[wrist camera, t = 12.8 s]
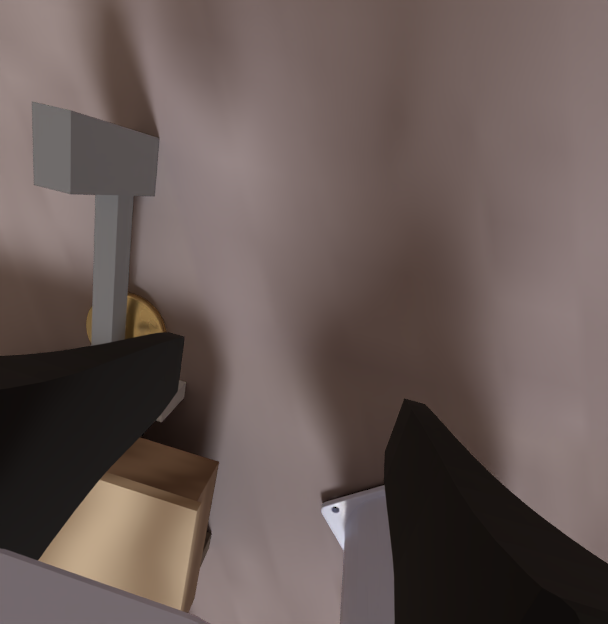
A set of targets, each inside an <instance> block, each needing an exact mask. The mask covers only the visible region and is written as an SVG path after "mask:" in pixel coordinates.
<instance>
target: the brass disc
mask: <svg viewBox="0 0 608 624" xmlns="http://www.w3.org/2000/svg"><path fill="white" fill-rule="evenodd" d="M86 329H87V334H88V338H89V341H90V343H91V338H92V307H91V308H90V310H89V313H88V316H87V321H86ZM160 332H166V327H165V324H164V321H163V319H162V317H161V315H160V314H159V312H158V311H157V310H156V308H155V307H154V306H153V305H152V304H151V303H149V302H148V301H147V300H145V299H144V298H142V297H140V296H138V295H136V294H132V293H128V295H127V311H126V328H125V339H128V338H133V337H138V336H143V335H148V334H154V333H160Z"/></svg>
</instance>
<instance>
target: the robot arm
mask: <svg viewBox="0 0 608 624" xmlns="http://www.w3.org/2000/svg"><path fill="white" fill-rule="evenodd" d="M183 345H184V337H183V336H180V335H176V334H173V333H169V332H160V333H154V334H148V335H143V336H138V337H133V338H128V339H124V340H119V341H114V342H109V343H104V344H98V345H93V346H87V347H82V348H76V349H70V350H63V351H56V352H47V353H37V354H27V355H12V356H0V624H210V623H208V622H206V621H204V620H203V619H201V618H199V617H197V616H195V615H192V614H189V613H186V612H184V611H181V610H178V609H175V608H172V607H169V606H166V605H164V604H161V603H158V602H155V601H152V600H149V599H146V598H144V597H141V596H138V595H135V594H132V593H129V592H126V591H123V590H121V589H118V588H115V587H112V586H109V585H106V584H103V583H101V582H98V581H95V580H92V579H89V578H86V577H83V576H80V575H78V574H75V573H72V572H69V571H66V570H63V569H60V568H58V567H55V566H52V565H49V564H46V563H43V562H40V561H38V560H39V559H40V557H41V556H42V554H43V553H44V552H45V550H46V549H47V547H48V546H49V545H50V543H51V542H52V541H53V539H54V538H55V537H56V535H57V534H58V533H59V531H60V530H61V529H62V527H63V526H64V525H65V523H66V522H67V521H68V519H69V518H70V517H71V515H72V514H73V513H74V511H75V510H76V509H77V508H78V506H79V505H80V504H81V502H82V501H83V500H84V499H85V497H86V496H87V495H88V494H89V492H90V491H91V490H92V489H93V487H94V486H95V485H96V484H97V482H98V481H99V480H100V479H101V478H102V476H103V475H104V474H105V473H106V472H107V471H108V470H109V469H110V467H111V466H112V465H113V464H114V463H115V462H116V461H117V460H118V459H119V458H120V457H121V456H122V455H123V454H124V453H125V452H126V451H127V450H128V449H129V448H130V447H131V446H132V445H133V444H134V443H135V442H136V441H137V440H138V438H139V437H140V436H141V435H142V434H143V433H144V432H145V431H146V430H147V429H148V428H149V427H150V426H151V425H152V424H153V423H154V422H155V421H156V420H157V418H158V417H159V416H160V415H161V414H162V413H163V411H164V410H165V409H166V407H167V406H168V405H169V403H170V402H171V400H172V399H173V397H174V396H175V394H176V393H177V392H178V386H179V378H180V369H181V361H182V353H183ZM334 507H338V508H334ZM321 512H322V514H323V516H324V518H325V519H326V521H327V523H328V525H329V526H330V528H331V530H332V532H333V533H334V535H335V537H336V538H337V540H338V542H339V544H340V545H341V547H342V549H343V551H344V558H343V576H342V593H341V611H340V624H608V563H606V562H604V561H603V560H601V559H600V558H598V557H597V556H595V555H594V554H592V553H591V552H589V551H588V550H586V549H585V548H584V547H582V546H581V545H579V544H578V543H576V542H575V541H573V540H572V539H571V538H569V537H568V536H566V535H565V534H564V533H562V532H561V531H560V530H558V529H557V528H556V527H554V526H553V525H552V524H550V523H549V522H548V521H546V520H545V519H544V518H542V517H541V516H540V515H538V514H537V513H536V512H535V511H533V510H532V509H531V508H530V507H528V506H527V505H526V504H525V503H524V502H522V501H521V500H520V499H519V498H518V497H517V496H515V495H514V494H513V493H512V492H511V491H509V490H508V489H507V488H506V487H505V486H504V485H502V484H501V483H500V482H499V481H498V480H497V479H496V478H495V477H494V476H493V475H492V474H491V473H490V472H489V471H488V470H487V469H485V468H484V467H483V466H482V465H481V464H480V463H479V462H478V461H477V460H476V459H475V458H474V457H473V456H472V455H471V454H470V453H469V451H468V450H467V449H466V448H465V447H464V446H463V445H462V444H461V443H460V442H459V441H458V440H457V439H456V438H455V436H454V435H453V434H452V433H451V432H450V431H449V430H448V429H447V428H446V426H445V425H444V424H443V423H442V422H441V421H440V420H439V419H438V418H437V416H436V415H435V414H434V413H433V412H432V411H431V410H430V409H429V408H428V407H427V406H426V405H425V404H422V403H418V402H415V401H411V400H408V399H404V401H403V404H402V407H401V410H400V412H399V415H398V418H397V421H396V423H395V426H394V429H393V431H392V434H391V437H390V440H389V442H388V445H387V448H386V451H385V465H384V485H383V486H379V487H376V488H372V489H369V490H365V491H362V492H358V493H355V494H351V495H348V496H344V497H340V498H337V499H333V500H330V501H326V502H324V503H323V504H322V507H321Z"/></svg>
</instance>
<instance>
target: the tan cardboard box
mask: <svg viewBox="0 0 608 624" xmlns="http://www.w3.org/2000/svg"><path fill="white" fill-rule="evenodd" d="M218 465H219V462H218V461H215V460H211V459H208V458H205V457H202V456H198V455H195V454H192V453H189V452H185V451H182V450H179V449H176V448H172V447H169V446H166V445H163V444H160V443H156V442H153V441H150V440H147V439H143V438H140V437H139V438H138V440H137V441H136V442H135V443H134V444H133V445H132V446H131V447H130V448H129V449H128V450H127V451H126V452H125V453H124V454H123V455H122V456H121V457H120V458H119V459H118V460H117V461H116V462H115V463H114V464H113V465H112V466H111V467H110V469H109V470H108V471H107V472H106V473H105V474H104V475H103V476H102V478H101V479H100V480H99V481H98V482H97V484H96V485H95V486H94V487H93V489H92V490H91V491H90V492H89V494H88V495H87V496H86V497H85V499H84V500H83V501H82V502H81V504H80V505H79V506H78V508H77V509H76V510H75V511H74V513H73V514H72V515H71V517H70V518H69V519H68V521H67V522H66V523H65V525H64V526H63V527H62V529H61V530H60V531H59V533H58V534H57V535H56V537H55V538H54V539H53V541H52V542H51V543H50V545H49V546H48V547H47V549H46V550H45V552H44V553H43V554H42V556H41V557H40V559H39V560H38V561H40V562H43V563H46V564H49V565H52V566H55V567H58V568H60V569H63V570H66V571H69V572H72V573H75V574H78V575H80V576H83V577H86V578H89V579H92V580H95V581H98V582H101V583H103V584H106V585H109V586H112V587H115V588H118V589H121V590H123V591H126V592H129V593H132V594H135V595H138V596H141V597H144V598H146V599H149V600H152V601H155V602H158V603H161V604H164V605H166V606H169V607H172V608H175V609H178V610H181V611H184V612H186V613H188V612H189V610H190V607H191V605H192V603H193V600H194V597H195V592H196V586H197V581H198V575H199V570H200V567H201V564H202V562H203V560H204V558H205V555H206V553H207V551H208V549H209V545H210V539H211V533H208V532H206V531H207V526H208V520H209V515H210V509H211V504H212V498H213V493H214V487H215V481H216V476H217V470H218Z"/></svg>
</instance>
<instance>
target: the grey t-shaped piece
mask: <svg viewBox="0 0 608 624" xmlns="http://www.w3.org/2000/svg"><path fill="white" fill-rule="evenodd" d="M32 130H33V167H34V185H36V186H40V187H44V188H48V189H52V190H56V191H60V192H64V193H68V194H83V195H95V229H94V265H93V302H92V338H91V346H93V345H98V344H104V343H109V342H114V341H119V340H124V339H125V328H126V311H127V295H128V279H129V262H130V246H131V230H132V214H133V197H134V196H155V185H156V172H157V160H158V147H159V138H158V137H155V136H151V135H148V134H145V133H142V132H138V131H135V130H132V129H129V128H126V127H122V126H119V125H116V124H113V123H110V122H106V121H103V120H100V119H97V118H93V117H90V116H87V115H84V114H81V113H77V112H74V111H71V110H67V109H62V108H58V107H54V106H49V105H45V104H41V103H36V102H32ZM185 387H186V382H184V381H180V380H179V386H178V392H177V393H176V394H175V396H174V397H173V399H172V400H171V402H170V403H169V405H168V406H167V407H166V409H165V410H164V411H163V413H162V414H161V415H160V416H159V417H158V418H157V420H156V421H159V422H163V420H164V419H165V418H166V417H167V416H168V415H169V414H170V413H171V412H172V411H173V409H174V408H175V407H176V406H177V405H178V404H179V403H180V402H181V401H182V400H183V399H184V395H185Z"/></svg>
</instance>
